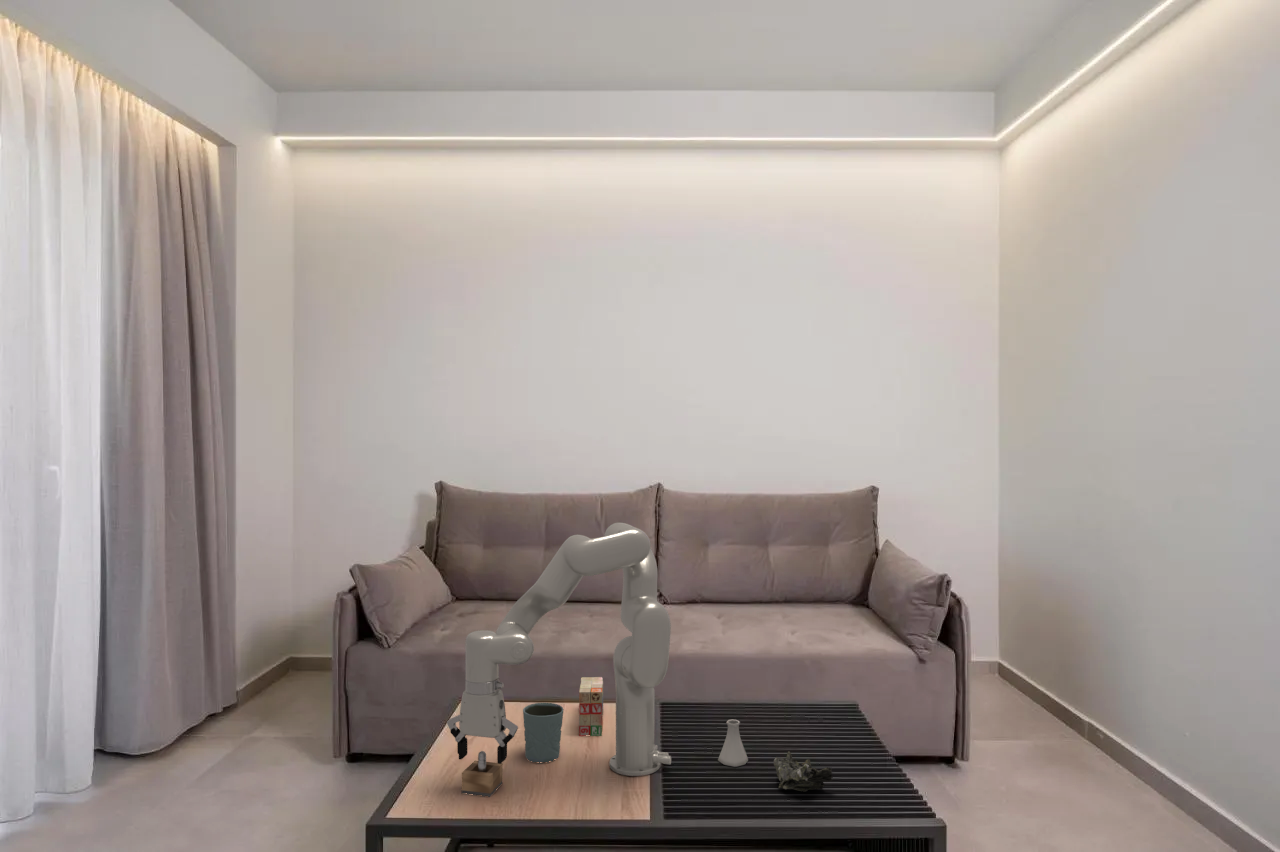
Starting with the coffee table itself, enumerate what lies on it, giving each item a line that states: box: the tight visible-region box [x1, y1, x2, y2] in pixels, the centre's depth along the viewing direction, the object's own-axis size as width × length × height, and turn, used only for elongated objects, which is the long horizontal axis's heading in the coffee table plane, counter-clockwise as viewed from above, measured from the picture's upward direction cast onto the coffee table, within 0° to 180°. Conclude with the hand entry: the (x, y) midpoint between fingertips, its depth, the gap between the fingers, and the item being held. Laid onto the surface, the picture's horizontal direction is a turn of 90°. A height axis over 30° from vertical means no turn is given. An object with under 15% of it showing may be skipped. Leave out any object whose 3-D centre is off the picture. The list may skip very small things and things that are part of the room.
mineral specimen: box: [773, 751, 833, 793], centre depth 196 cm, size 15×13×10 cm
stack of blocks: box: [578, 676, 604, 737], centre depth 236 cm, size 21×6×12 cm, turn 2°
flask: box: [717, 719, 749, 768], centre depth 210 cm, size 7×7×10 cm
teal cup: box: [522, 702, 565, 764], centre depth 213 cm, size 10×10×12 cm
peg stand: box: [461, 750, 503, 798], centre depth 194 cm, size 7×7×9 cm
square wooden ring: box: [461, 760, 504, 794], centre depth 194 cm, size 7×7×4 cm
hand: (482, 759), depth 194 cm, fingers open, 9 cm apart
